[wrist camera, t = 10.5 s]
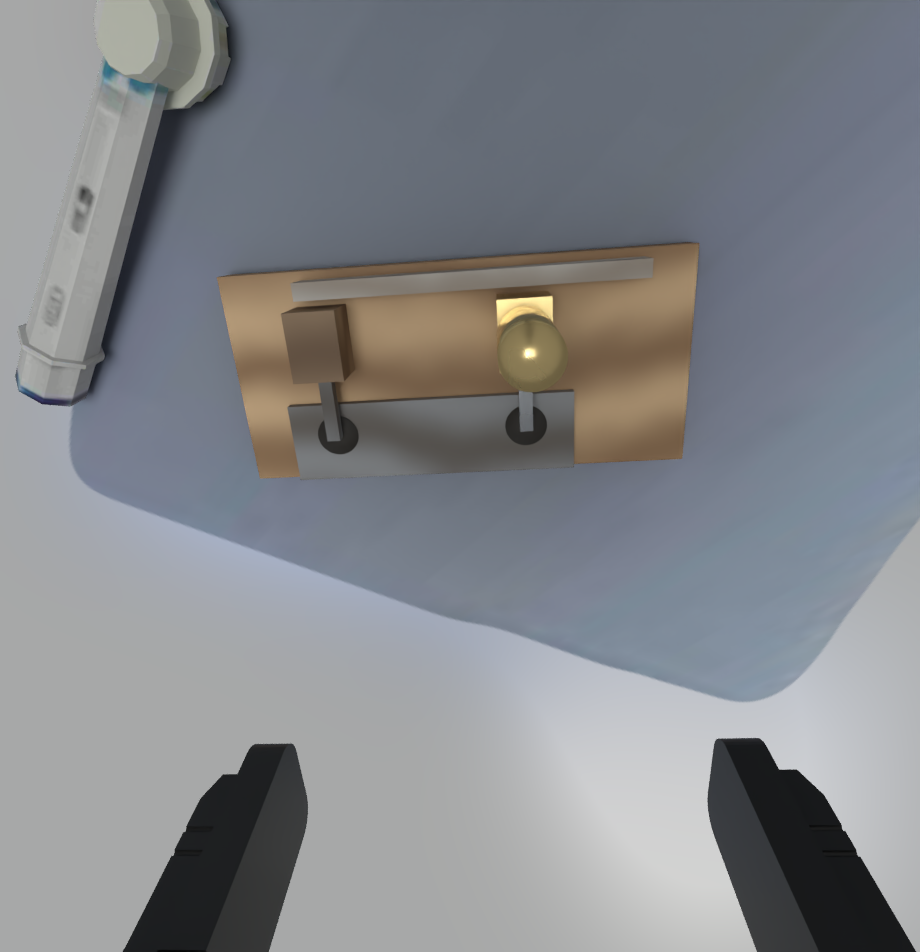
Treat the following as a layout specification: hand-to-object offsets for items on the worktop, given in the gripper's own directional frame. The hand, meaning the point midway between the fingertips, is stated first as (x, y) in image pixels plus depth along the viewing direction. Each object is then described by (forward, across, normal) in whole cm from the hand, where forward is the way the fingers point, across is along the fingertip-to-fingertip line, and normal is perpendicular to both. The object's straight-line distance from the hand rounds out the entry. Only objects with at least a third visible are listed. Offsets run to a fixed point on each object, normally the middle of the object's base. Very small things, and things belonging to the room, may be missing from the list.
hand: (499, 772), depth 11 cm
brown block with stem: (+28, +10, -2) cm, 30 cm away
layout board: (+30, +2, -2) cm, 30 cm away
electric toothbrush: (+31, +22, -12) cm, 39 cm away
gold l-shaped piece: (+28, -2, -2) cm, 28 cm away
